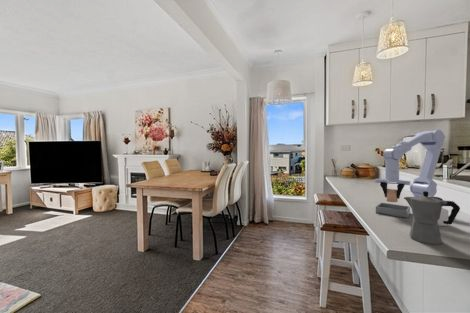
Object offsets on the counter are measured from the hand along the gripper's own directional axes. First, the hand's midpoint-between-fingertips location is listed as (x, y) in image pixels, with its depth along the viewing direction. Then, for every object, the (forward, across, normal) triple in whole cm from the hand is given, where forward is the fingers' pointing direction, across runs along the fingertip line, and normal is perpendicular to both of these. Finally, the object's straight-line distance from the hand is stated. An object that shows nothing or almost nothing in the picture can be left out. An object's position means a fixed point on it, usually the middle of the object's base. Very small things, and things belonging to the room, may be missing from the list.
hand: (392, 197), depth 110 cm
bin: (+9, 0, +3) cm, 9 cm away
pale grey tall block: (+9, +16, -3) cm, 19 cm away
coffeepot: (+9, +16, -30) cm, 35 cm away
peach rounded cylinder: (+2, 0, 0) cm, 2 cm away
